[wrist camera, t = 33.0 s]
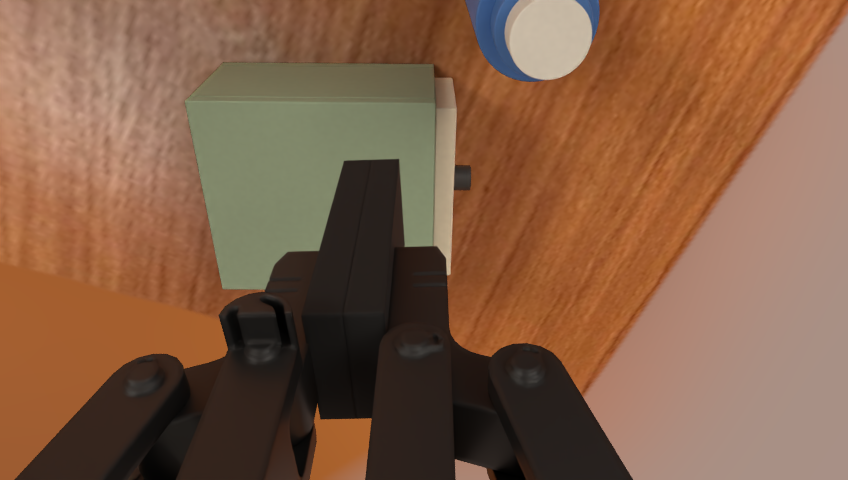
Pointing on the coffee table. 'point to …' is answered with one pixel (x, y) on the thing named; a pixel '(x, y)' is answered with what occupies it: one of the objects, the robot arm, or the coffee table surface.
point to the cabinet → (305, 153)
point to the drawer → (446, 167)
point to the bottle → (534, 35)
